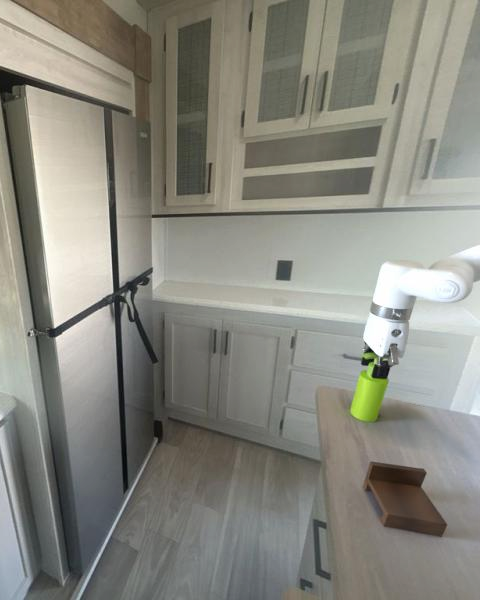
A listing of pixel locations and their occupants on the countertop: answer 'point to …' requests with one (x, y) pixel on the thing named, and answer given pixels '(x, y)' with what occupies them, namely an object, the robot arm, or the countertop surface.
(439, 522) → the walnut shelf
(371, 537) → the countertop surface
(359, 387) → the soap dispenser
